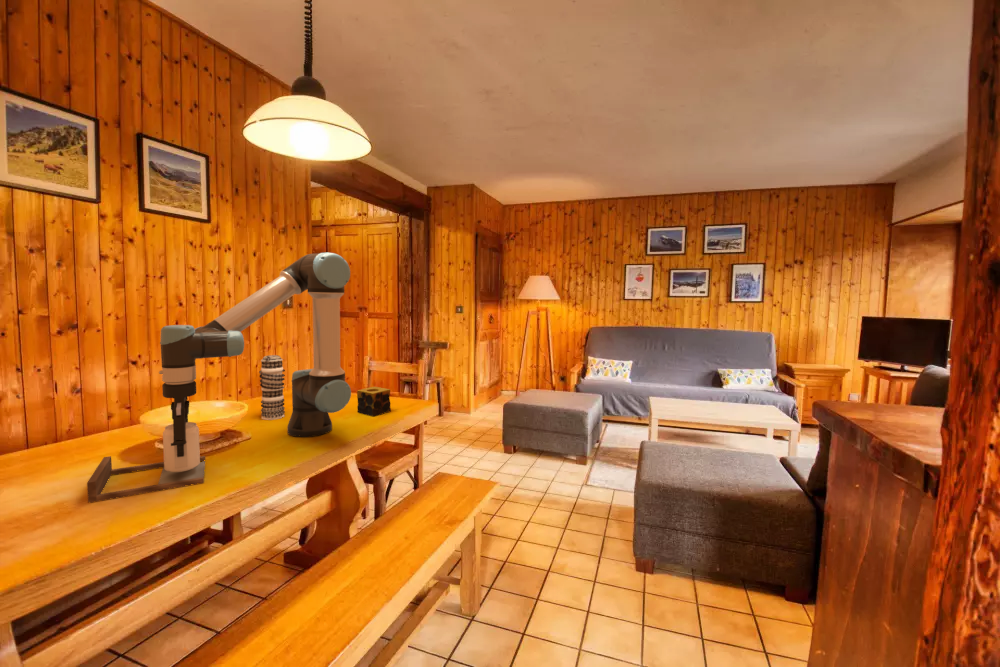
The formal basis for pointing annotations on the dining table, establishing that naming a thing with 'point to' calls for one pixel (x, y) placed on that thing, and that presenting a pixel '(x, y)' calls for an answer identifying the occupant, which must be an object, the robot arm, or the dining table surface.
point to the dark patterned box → (373, 401)
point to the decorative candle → (272, 387)
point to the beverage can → (192, 448)
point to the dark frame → (165, 482)
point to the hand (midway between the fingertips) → (182, 461)
